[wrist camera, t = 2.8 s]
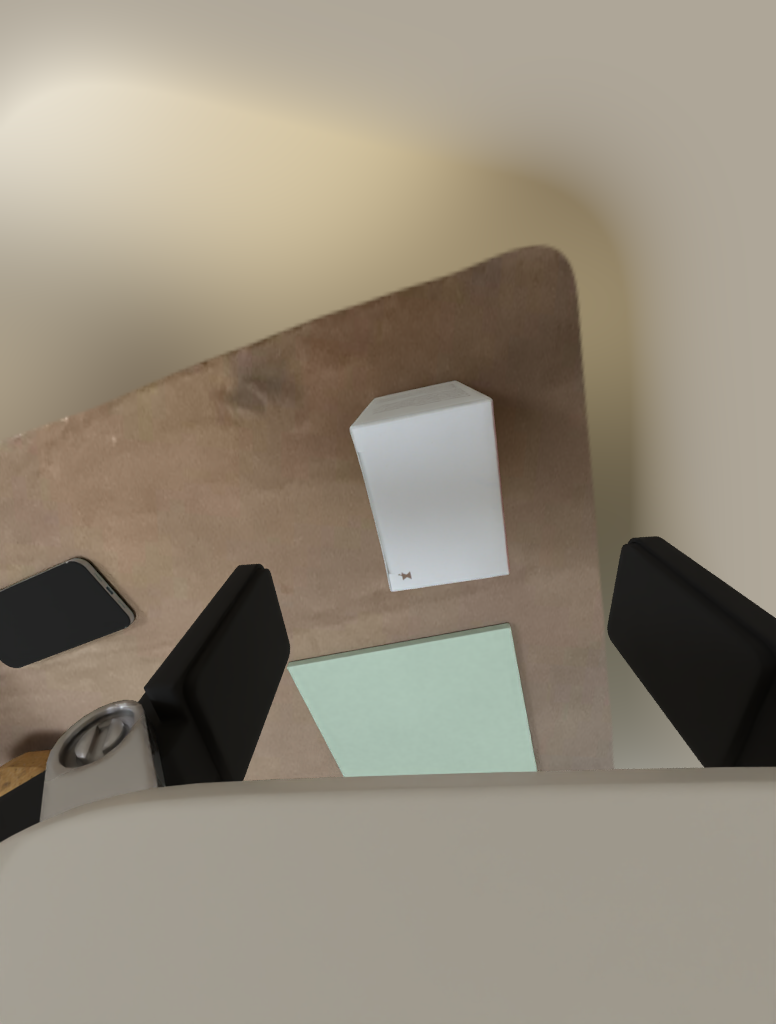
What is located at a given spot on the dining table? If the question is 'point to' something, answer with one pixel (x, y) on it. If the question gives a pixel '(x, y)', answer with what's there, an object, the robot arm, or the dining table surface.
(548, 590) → the dining table surface
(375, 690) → the mat
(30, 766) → the potato
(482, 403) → the small box
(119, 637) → the dining table surface
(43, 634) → the smartphone
